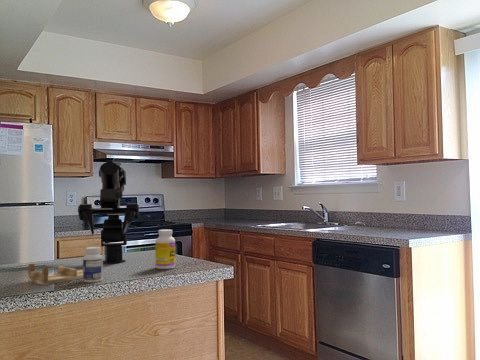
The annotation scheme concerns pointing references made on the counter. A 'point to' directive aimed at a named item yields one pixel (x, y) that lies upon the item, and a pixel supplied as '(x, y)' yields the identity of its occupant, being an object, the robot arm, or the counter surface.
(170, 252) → the supplement bottle
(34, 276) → the rack
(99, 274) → the pill bottle
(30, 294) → the counter surface
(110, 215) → the robot arm
